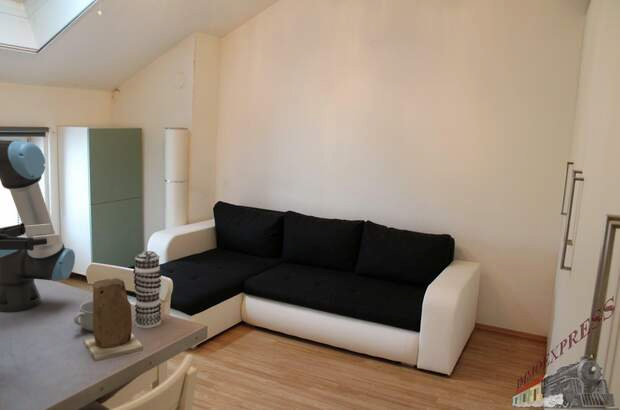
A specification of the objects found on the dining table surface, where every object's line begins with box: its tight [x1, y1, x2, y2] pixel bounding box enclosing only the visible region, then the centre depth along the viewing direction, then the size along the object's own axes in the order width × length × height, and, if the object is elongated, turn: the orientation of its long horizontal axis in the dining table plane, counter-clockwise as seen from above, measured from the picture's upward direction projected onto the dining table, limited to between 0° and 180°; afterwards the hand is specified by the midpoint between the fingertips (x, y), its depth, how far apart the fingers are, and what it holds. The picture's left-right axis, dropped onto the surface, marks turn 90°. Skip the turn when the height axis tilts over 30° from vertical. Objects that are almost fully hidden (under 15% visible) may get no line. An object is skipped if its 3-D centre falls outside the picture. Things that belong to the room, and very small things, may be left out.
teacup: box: [73, 300, 93, 332], centre depth 172 cm, size 14×11×8 cm
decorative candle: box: [132, 250, 163, 329], centre depth 177 cm, size 9×9×25 cm
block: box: [92, 277, 133, 348], centre depth 159 cm, size 11×8×20 cm
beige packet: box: [83, 332, 144, 362], centre depth 161 cm, size 14×14×1 cm
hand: (55, 233), depth 148 cm, fingers open, 13 cm apart
